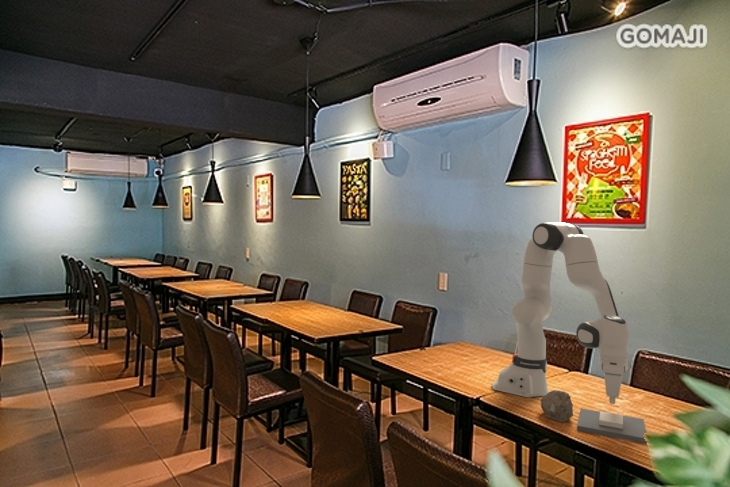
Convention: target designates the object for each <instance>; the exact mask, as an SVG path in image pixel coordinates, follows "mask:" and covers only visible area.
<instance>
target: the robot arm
mask: <svg viewBox="0 0 730 487" xmlns="http://www.w3.org/2000/svg"><path fill="white" fill-rule="evenodd" d="M531 237H532V238H531V239H529V241H528V243H527V246H526V250H525V253H524V257H523V258H524V259H523V260H524V261H523V266H522V276H521V283H522V286H523V299H520V300H518V302H516V303H515V305H514V306H513V307H512V310H511V316H512V318H513V321H514V323H515V328H516V333H517V334H516V336H517V353H514V354H513V355H512V358H511V363H510V365H508V366H506V367H505V368H503V369H502V370H500V372H499V373H498V377H497V379H496V380H494V381H493V383H492V385H491V388H492V389H493V390H495V391H498V392H503V393H507V394H511V395H515V396H518V397H519V396H520V397H525V398H533V397H544V396H545V395H547V393H549V392H550V391H549V388H548V382H547V368H548V360H547V357H546V356H547V355H546V354H547V351H546V350H547V346H546V345H547V338H546V337H545V333H544V327H543V326H544V325H543V322H544V321H545V320H547V319H548V318H549V316H550V315H551V313H552V311H553V306H552V302H551V300H552V298H551V277H552V270H553V262H554V261H553V259H554V256H555V254H556V253H557V252H558V251H559V252H561V253H562V254H563V256H564V260H565V267H566V270H565V271H566V274H567V277H568V281H569V282H570V283H571V284H572V285H573V286H575V287H576V288H578V289H581V290H583V291H585V292H587V293H589V294H591V295H592V297H594V298H593V299H594V300H595V302H596V306H597V309H598V312H599V316H600V318H598V319H595V320H589V321H584V322H581V323H579V324H578V326H577V328H576V332H575V335H576V340H577V341H578V343H579V345H581V346H582V347H583V348H586V349H598V350H599V354H598V358H599V360H598V367H600V369H601V371H602V373H603V375H604V376H603V377H604V387H605V394H606V397H609V400H608V401H609V404H612V405H616V398H617V399H618V398H619V397H620V392H621V386H622V385H621V384H622V380H623V376H625V372H626V371H627V370H628V366H629V364H628V363H629V362H628V361H629V354H628V346H629V327H628V323H627V321H626V319H624V318H623V317H621V316H619V313H618V310H617V306H616V303H615V299H614V296H613V292H612V290H611V288H610V285H609V283H608V281H607V280H606V279H605V278H604V276H603V274H602V272H601V270H600V267H599V262H598V261H599V260H598V257H597V253H596V249H595V246H594V244H593V241H592V239H591V238H590V237H589V236H587V235H584V232H583V230H582V228H581V227H579V226H578V225H577V224H574V223H568V222H567V223H566V222H561V221H556V222H555V221H553V222H549V221H546V222H541V223H539V224H537V225H536V226H535V227H534V229H533V232H532V236H531Z"/></svg>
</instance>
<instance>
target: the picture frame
mask: <svg viewBox="0 0 730 487" xmlns="http://www.w3.org/2000/svg"><path fill="white" fill-rule="evenodd" d="M599 412H600V418H599V425H603V426H609V427H614V428H620V429H623V416H624V415H623V414H619V413H613V412H606V411H599Z"/></svg>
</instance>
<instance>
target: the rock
mask: <svg viewBox="0 0 730 487" xmlns="http://www.w3.org/2000/svg"><path fill="white" fill-rule="evenodd" d="M573 406H574V404H573V402H572V399H571V396H570V394H569V393H568V392H566V391H562V390H559V389H558V390H557V389H555V390H550V391H549V393H547V395H544V396H541V399H540V407H541V410H542V411H543V413H544V414H545V417H546V418H549V419H552V420H553V421H555V422H560V423H565V422H567V421H568V420H570V418H572V417H573V416H574V409H573V408H574V407H573Z"/></svg>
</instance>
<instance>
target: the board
mask: <svg viewBox="0 0 730 487" xmlns="http://www.w3.org/2000/svg"><path fill="white" fill-rule="evenodd" d="M599 418H600V411H599V410H593V409H586V408H580V410H579V415H578V418H577V424H576V431H578V432H585V433H589V434H593V435H598V436H599V435H600V436H605V437H609V438H616V439H620V440H626V441H631V442H637V443H642V444H647V441H645V439H644V436H643V435H644V433H646V434H647V432H646V426H645V419H644V418H640V417H634V416H627V415H623V429H620V428H614V427H609V426H603V425H599Z"/></svg>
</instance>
